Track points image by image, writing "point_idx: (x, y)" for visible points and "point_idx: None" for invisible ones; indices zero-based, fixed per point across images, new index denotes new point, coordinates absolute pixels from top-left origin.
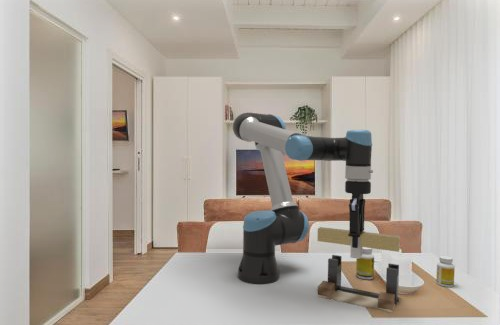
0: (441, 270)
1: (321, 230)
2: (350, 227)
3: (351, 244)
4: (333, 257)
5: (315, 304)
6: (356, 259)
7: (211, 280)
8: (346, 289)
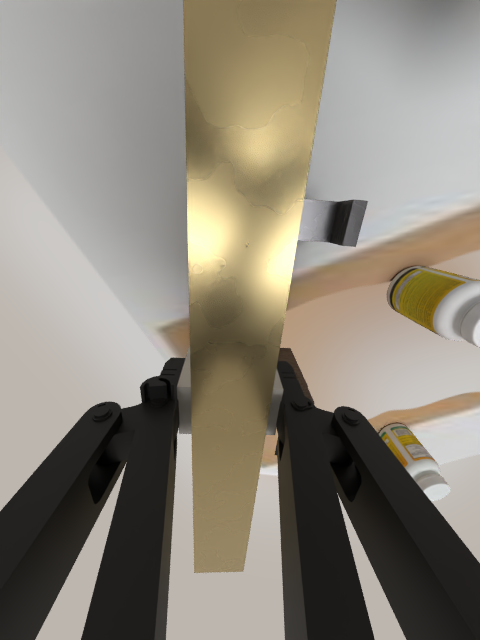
0: (403, 457)
1: (185, 78)
2: (41, 473)
3: (187, 357)
4: (347, 208)
5: (144, 190)
6: (460, 276)
7: None
8: None
